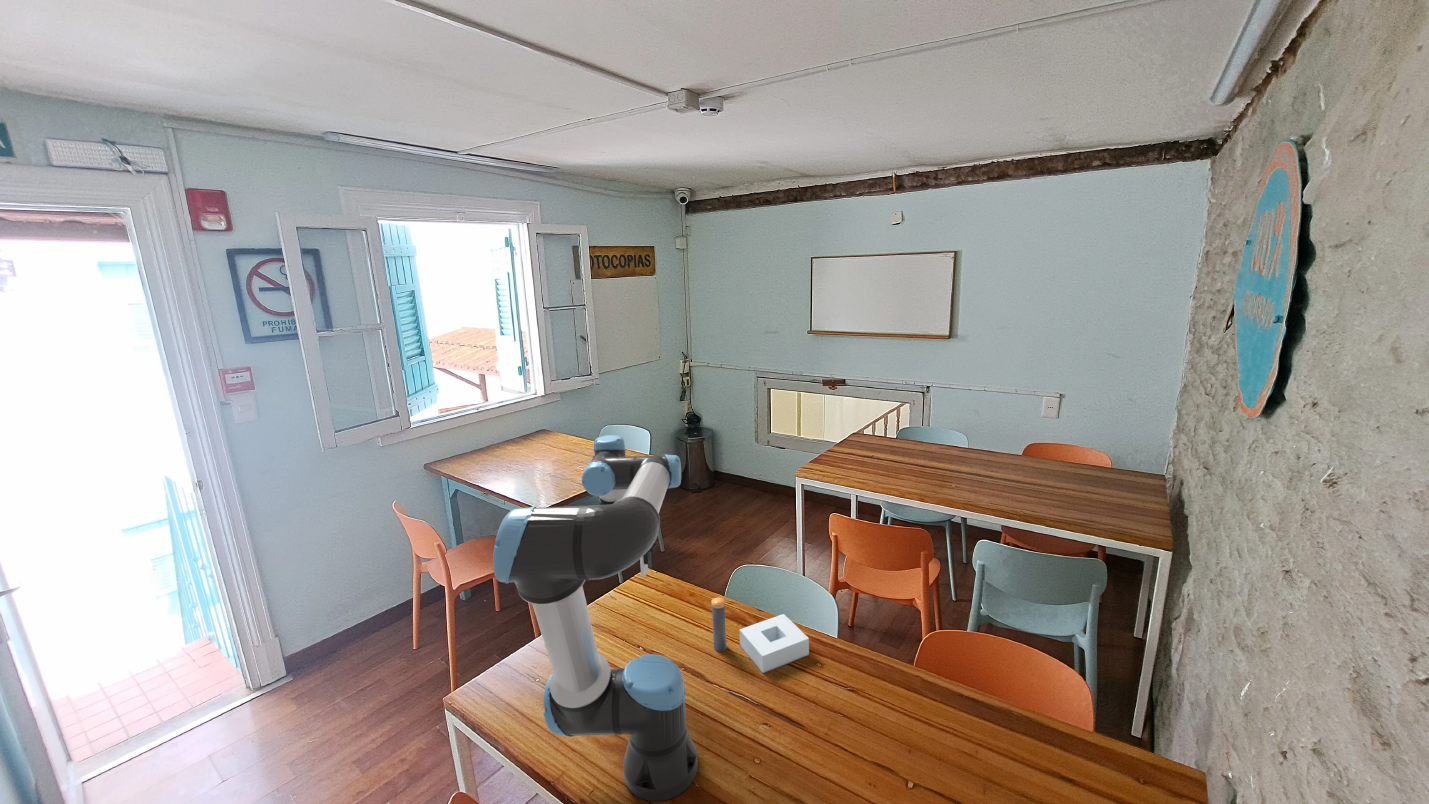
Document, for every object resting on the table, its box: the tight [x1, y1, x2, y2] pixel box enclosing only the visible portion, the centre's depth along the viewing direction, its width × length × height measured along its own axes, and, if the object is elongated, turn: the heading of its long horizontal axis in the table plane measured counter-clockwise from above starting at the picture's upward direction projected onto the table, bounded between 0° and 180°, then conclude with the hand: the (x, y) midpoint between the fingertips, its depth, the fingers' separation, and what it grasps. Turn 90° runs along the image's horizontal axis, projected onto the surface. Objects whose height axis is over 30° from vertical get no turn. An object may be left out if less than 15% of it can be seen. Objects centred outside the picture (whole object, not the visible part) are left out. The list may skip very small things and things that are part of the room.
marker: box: [711, 597, 727, 653], centre depth 146 cm, size 4×4×14 cm
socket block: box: [739, 613, 810, 674], centre depth 145 cm, size 12×14×5 cm
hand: (620, 571), depth 143 cm, fingers open, 13 cm apart
